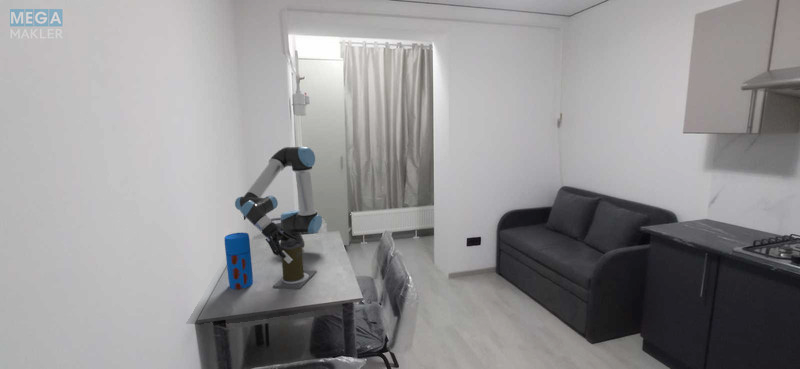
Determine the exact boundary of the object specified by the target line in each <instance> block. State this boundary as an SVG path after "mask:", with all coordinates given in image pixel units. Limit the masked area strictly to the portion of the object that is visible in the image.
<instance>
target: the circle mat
mask: <svg viewBox="0 0 800 369" xmlns="http://www.w3.org/2000/svg"><path fill="white" fill-rule="evenodd" d="M303 271H304V278H302V279H301V280H299V281H294V282H287V281H284V280H283V276H282V277H281V278H280V279H279V280H278V281H276V283H274V284H273V285H272V288H279V289H290V290H291V289H294V290H301V289H302V287H304V285H306V283H307V282H309V281H310V279H311V278H313V277H314V275H315V274H317V270H313V269H312V270H311V269H309V270H308V269H303Z"/></svg>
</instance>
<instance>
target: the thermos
mask: <svg viewBox="0 0 800 369" xmlns="http://www.w3.org/2000/svg"><path fill="white" fill-rule="evenodd" d="M224 247H225V249H224V250H225V258H226V259H225V260H226V268H227V279H228V284H229V288H230V289H232V290H242V289H246V288H249V287H251V286H252V285H253V282H254V278H253V277H254V276H253V264H252V254H251V253H252V250H251V243H250V235H249V233H248V232H235V233H230V234H227V235H225V237H224Z"/></svg>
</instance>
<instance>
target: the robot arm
mask: <svg viewBox="0 0 800 369" xmlns="http://www.w3.org/2000/svg"><path fill="white" fill-rule="evenodd" d="M315 164H316V155H315V152H314V151H313V150H312V149H311V148H310V147H308V146H307V147H306V146H286V147H285V146H284V147H283V148H281V149H278V151H276V152H275V153H274V154H273V155H272V156H271V158H270V159H269V160H268V164H267V166H266V167H265V168H264V169H263V170H262V172H261V173H260V175H259V176H258V178H256V180H255V182H254V183H253V184H252V185H251V187H250V188H249V189H248V190H247V192H246V193H245V194H244V196H239V197H237V198H236V199H235V201H234V206H235V208H236V210H238V211H240V213H241V214H242V215H243V216H244V217H245V219H247V220H248V221H249V222H250V223H251V224H252V225H253V226H254V227H255V228H257V230H258V231H260V232H261V234H262V235H263V236H264V237H265V239H264V240H265V241H266V242H267V244H268V246H269V247H270V249H271V252H272V253H273V255H274V256H280V257H281V259H282V258H283V259H284V260H285V261H286V262H287V263H288V264H289V263H290V262H291V261H292V260H293V259H292V258H291V257H290V256H289V255H288V254H287V253H286V252H285V251H284V250H283V251H282V250H281V245H282V244H283V243H286V241H287V240H288V239H295V241H299V242H301V243H302V253H303V252H304V251H305V248H304V247H305V241H304V238H303V235H302V233H305V234H316V233H318V232H319V231H320V229H321V228H322V225H323V217H322V216H321V215H320V214H318V210H317V209H316V208H315V205H314V204H315V203H314V195H313V186H312V177H311V170H313V166H314V165H315ZM287 167H291V169H292V170H291V171H292V172H293V173H295V180H296V188H297V195H298V196H297V197H298V203H299V204H298V205H299V210H298V209H297V210H295V209H294V210H289V211H285V212H283V213H281V214H280V226H281V228H280V229H278V228H279V227H278V225H277V224H276V223H275V222H274V221H273V220H272V219H271V218H270V217H269V216H268V215H267V214H268V213H271V212H272V211H274V209H276V208H277V207H278V204H279V203H278V200H277V199H278V198H276V197H275V196H274V195H268V196H265V197H262V196H263V195H264V194H265V192H266V191H267V189H269V187H270V186H271V184H272V183H273V182H274V180H275V179H276V178H277V176H278V175H279V173H280V172H283V171H284V170H285V168H287Z"/></svg>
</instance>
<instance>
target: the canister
mask: <svg viewBox="0 0 800 369" xmlns="http://www.w3.org/2000/svg"><path fill="white" fill-rule="evenodd" d="M302 248H303V247H302V243H301V242H299V241H295V239H288V240H287V241H286V243H283V244H282V245H281V250H282V251H283V250H284V251H285V252H286V253H287V254H288V255H289V256H290V257H291V258H292V259H293V260H292V261H291V262H290V263H289V264H288V263H287V262H286V261H285V260H284V259H283V258H282V257H281V265H282V267H281V268H282V277H283V280H284V281H287V282H294V281H299V280H301V279H302V278H304V271H303V270H304V257H303V252H302Z"/></svg>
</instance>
